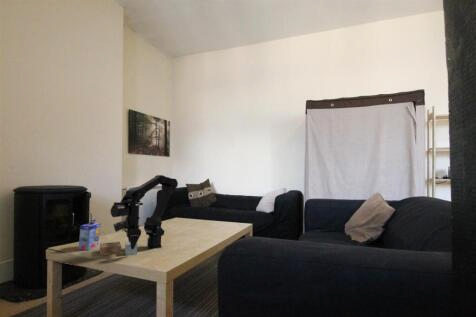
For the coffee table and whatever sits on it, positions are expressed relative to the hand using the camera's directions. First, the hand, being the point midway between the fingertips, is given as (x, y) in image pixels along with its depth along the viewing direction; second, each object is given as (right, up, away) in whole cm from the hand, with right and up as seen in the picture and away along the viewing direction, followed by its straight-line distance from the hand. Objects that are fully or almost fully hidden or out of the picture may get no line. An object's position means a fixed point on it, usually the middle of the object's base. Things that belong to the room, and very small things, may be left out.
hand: (131, 246), depth 126 cm
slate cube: (0, -3, 0) cm, 3 cm away
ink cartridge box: (-26, -4, +9) cm, 28 cm away
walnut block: (-11, -3, +2) cm, 12 cm away
